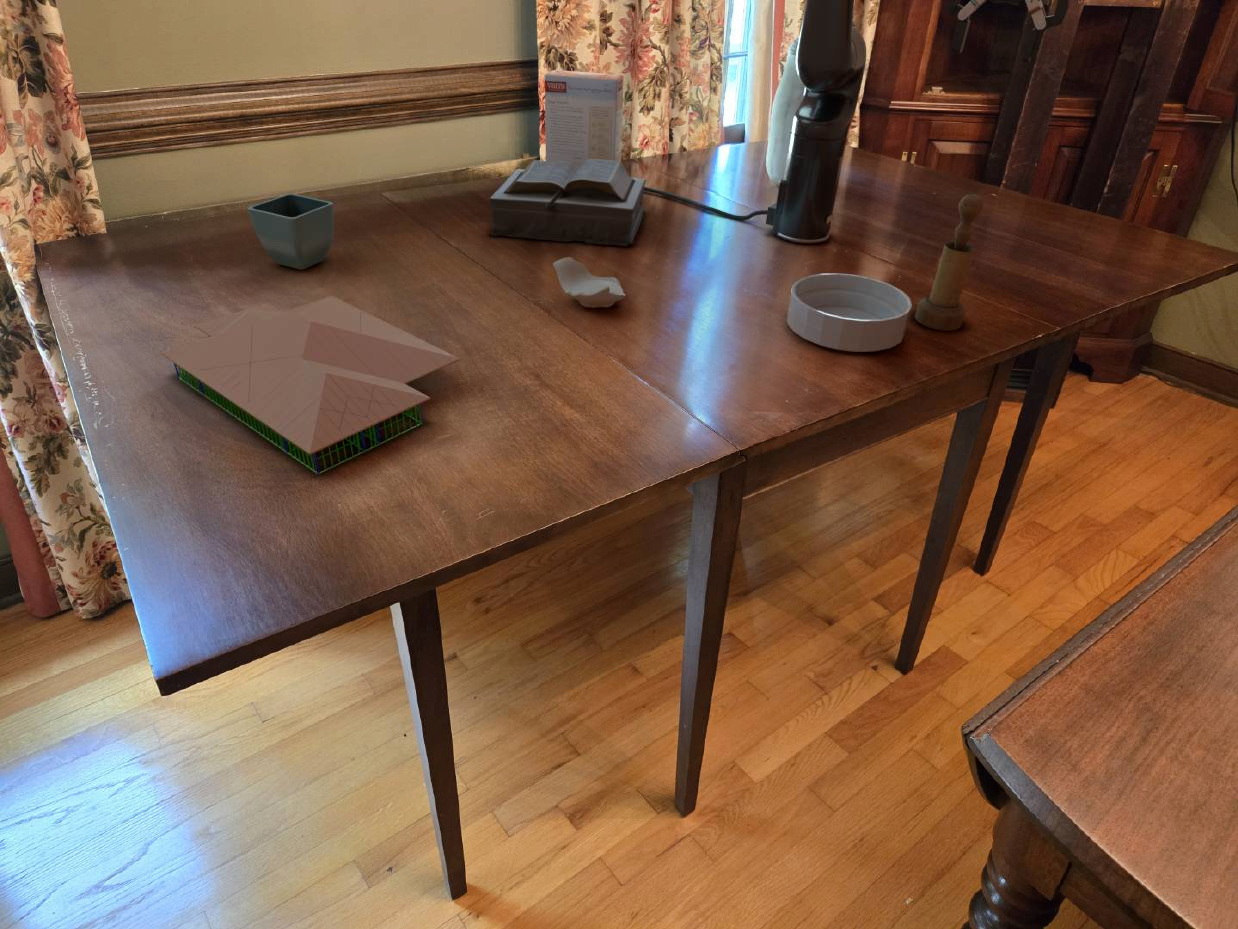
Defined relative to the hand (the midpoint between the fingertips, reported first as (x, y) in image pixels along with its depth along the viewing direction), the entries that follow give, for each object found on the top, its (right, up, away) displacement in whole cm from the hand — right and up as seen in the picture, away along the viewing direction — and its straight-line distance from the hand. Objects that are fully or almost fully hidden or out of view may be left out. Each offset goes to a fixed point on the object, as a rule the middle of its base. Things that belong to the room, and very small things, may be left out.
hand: (991, 56), depth 108 cm
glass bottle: (-14, +5, +64) cm, 65 cm away
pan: (-17, -34, +8) cm, 39 cm away
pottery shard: (-52, -30, +12) cm, 61 cm away
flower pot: (-98, -22, +20) cm, 102 cm away
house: (-84, -44, -10) cm, 95 cm away
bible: (-57, -11, +39) cm, 70 cm away
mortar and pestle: (-3, -33, +11) cm, 35 cm away
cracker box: (-56, +2, +57) cm, 80 cm away
